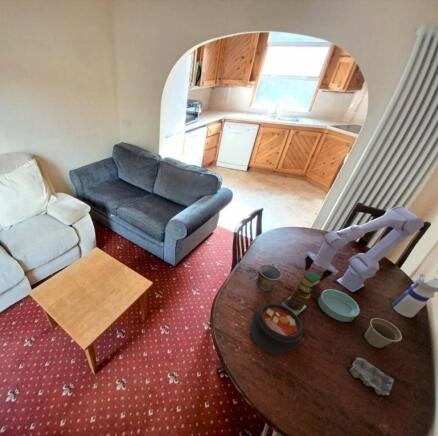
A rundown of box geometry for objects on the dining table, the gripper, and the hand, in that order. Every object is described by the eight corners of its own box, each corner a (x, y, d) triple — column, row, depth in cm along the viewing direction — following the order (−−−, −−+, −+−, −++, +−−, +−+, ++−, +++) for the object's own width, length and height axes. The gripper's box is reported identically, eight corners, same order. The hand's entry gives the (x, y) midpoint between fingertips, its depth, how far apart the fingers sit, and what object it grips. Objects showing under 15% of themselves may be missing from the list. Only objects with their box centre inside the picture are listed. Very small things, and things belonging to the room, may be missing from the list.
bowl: (330, 291, 116) (334, 285, 113) (361, 315, 105) (367, 309, 102) (310, 301, 111) (314, 295, 108) (341, 327, 100) (346, 321, 98)
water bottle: (389, 298, 112) (423, 260, 98) (413, 307, 108) (453, 269, 94) (390, 310, 107) (428, 273, 92) (416, 320, 102) (459, 283, 88)
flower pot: (391, 357, 90) (405, 345, 85) (361, 345, 94) (372, 333, 89) (385, 336, 97) (398, 324, 92) (357, 325, 101) (368, 314, 96)
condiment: (306, 306, 109) (317, 290, 102) (296, 315, 105) (306, 299, 98) (291, 295, 114) (300, 279, 107) (281, 304, 110) (289, 287, 103)
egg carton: (346, 372, 86) (352, 367, 84) (354, 359, 90) (359, 353, 88) (383, 400, 79) (390, 395, 77) (390, 384, 83) (396, 379, 81)
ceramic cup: (272, 297, 113) (278, 283, 107) (251, 286, 118) (256, 273, 112) (278, 280, 122) (285, 266, 116) (258, 271, 127) (264, 257, 121)
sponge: (310, 277, 123) (313, 271, 120) (318, 283, 120) (322, 277, 117) (300, 281, 121) (304, 275, 118) (309, 288, 117) (312, 282, 115)
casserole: (281, 369, 87) (289, 358, 82) (238, 331, 99) (242, 320, 94) (310, 329, 100) (318, 317, 95) (269, 299, 112) (274, 288, 107)
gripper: (305, 247, 113) (295, 267, 121) (336, 267, 102) (322, 288, 110) (315, 243, 115) (304, 263, 123) (346, 262, 105) (332, 283, 112)
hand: (314, 274), depth 117 cm, fingers open, 7 cm apart
